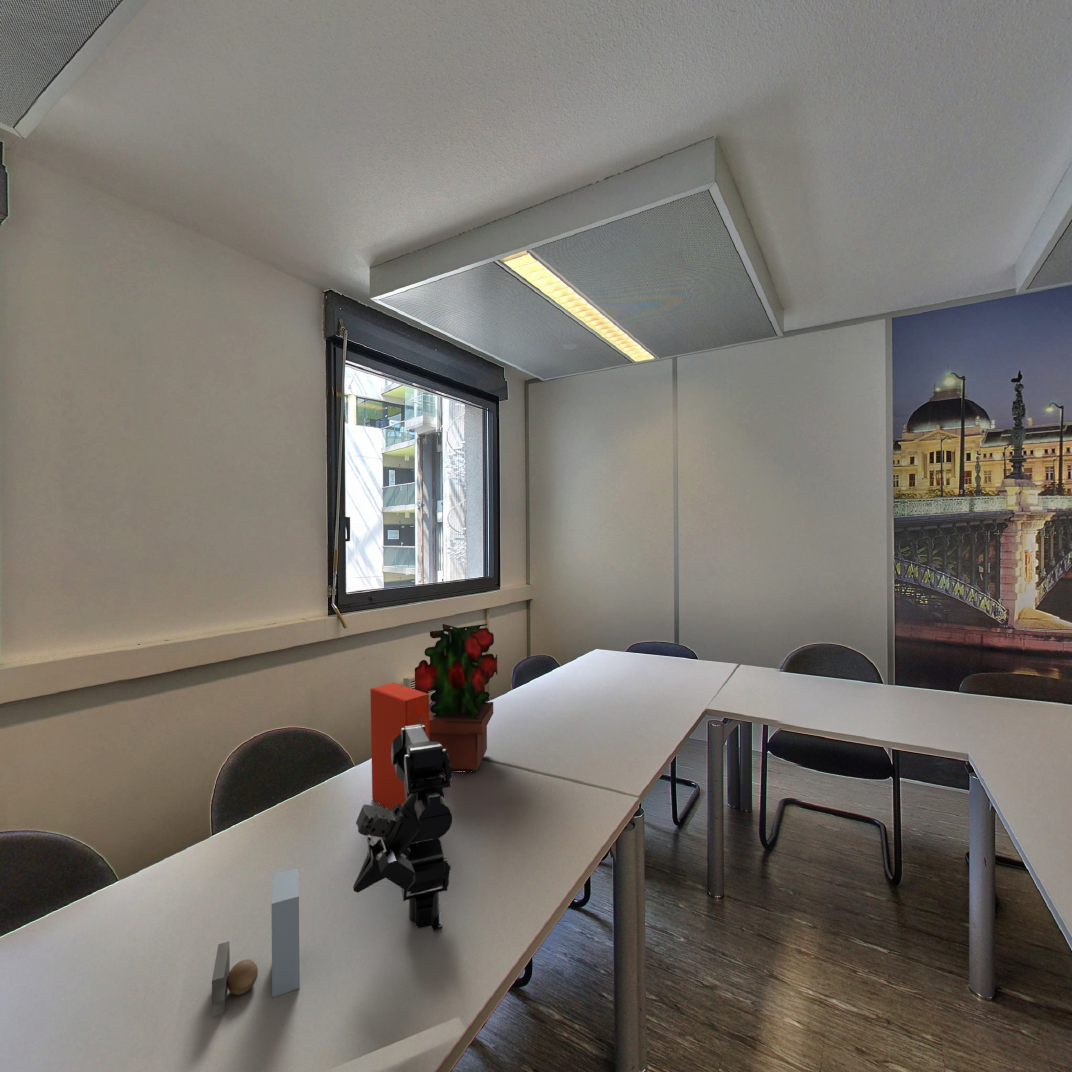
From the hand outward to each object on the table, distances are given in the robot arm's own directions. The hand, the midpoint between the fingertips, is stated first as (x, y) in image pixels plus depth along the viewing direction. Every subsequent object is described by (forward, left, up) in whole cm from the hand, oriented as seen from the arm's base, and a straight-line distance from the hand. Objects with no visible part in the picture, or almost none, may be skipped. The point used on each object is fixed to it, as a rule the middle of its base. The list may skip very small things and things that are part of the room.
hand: (355, 890), depth 93 cm
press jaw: (+2, -11, -11) cm, 16 cm away
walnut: (+3, -17, -11) cm, 21 cm away
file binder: (-54, +8, -13) cm, 56 cm away
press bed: (+2, -11, -13) cm, 17 cm away
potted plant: (-76, +27, -13) cm, 81 cm away
